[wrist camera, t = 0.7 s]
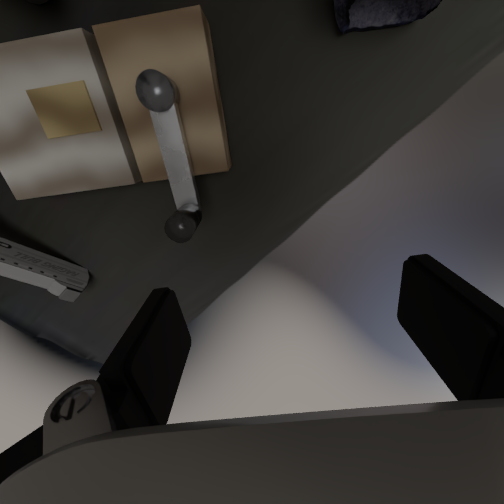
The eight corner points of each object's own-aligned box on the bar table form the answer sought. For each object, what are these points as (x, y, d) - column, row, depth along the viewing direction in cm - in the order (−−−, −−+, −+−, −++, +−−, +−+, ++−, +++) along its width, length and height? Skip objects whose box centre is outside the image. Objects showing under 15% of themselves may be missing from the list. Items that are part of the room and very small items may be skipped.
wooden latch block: (-19, 66, 27) (-70, 55, 23) (208, 24, 25) (198, 3, 21) (45, 191, 34) (14, 200, 29) (231, 165, 32) (227, 171, 27)
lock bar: (142, 77, 24) (109, 63, 18) (174, 72, 23) (150, 55, 18) (183, 223, 30) (167, 244, 25) (208, 220, 30) (197, 240, 25)
